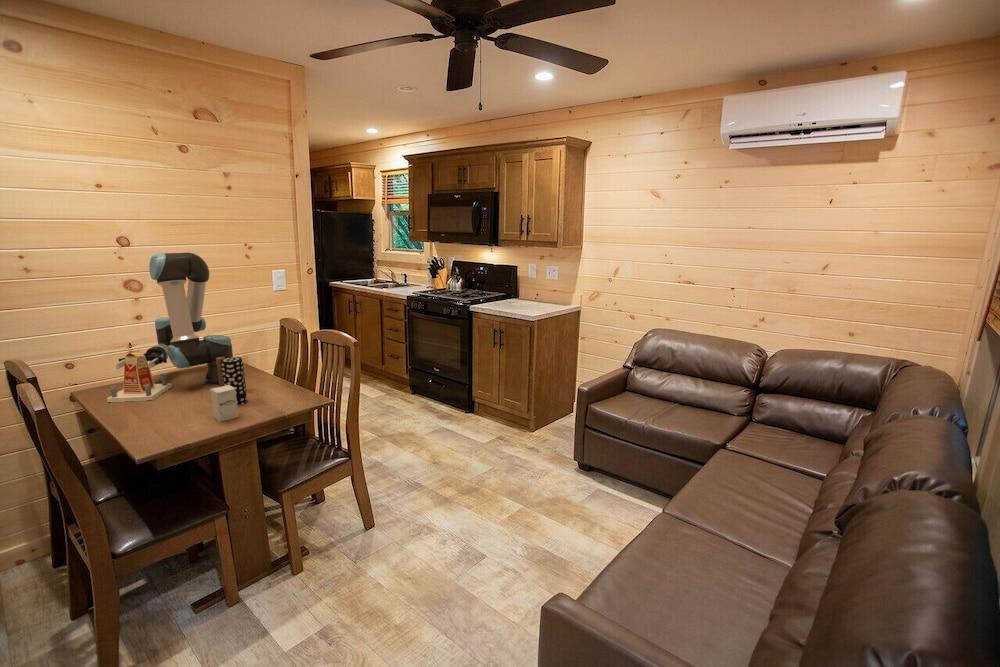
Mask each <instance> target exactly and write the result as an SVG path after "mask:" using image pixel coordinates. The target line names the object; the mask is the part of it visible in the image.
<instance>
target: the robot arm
mask: <svg viewBox="0 0 1000 667" xmlns="http://www.w3.org/2000/svg"><path fill="white" fill-rule="evenodd" d="M148 269H149V274H150V275H149V276H150V278H151V279H152V280H154V281H156V284H157V285H159V286H160V287H161V289H162V292H163V298H164V302H165V306H166V311H167V317H160V318H159V317H158V318H156V319H155V320H154V328H155V333H156V339H157V344H155V345H154V346H151V347H150V348H148V349H147V350H146V352H144V353H142V354H143V355H144V356H145V357H146V360H147V362H148V365H149V368H150V369H153V368H154V367H156V366H159V365H160V364H163V363H164V364H167V363H168V360H167V359H169V361H170V362H171V364H172V365H173V366H174V367H175V368H176V369H186V368H187V369H188V368H189V369H190V368H191V367H195V366H201V365H206V367H207V369H206V373H205V376H204V380H205V384H207V385H209V386H210V385H211V386H220V385H219V378H218V370H217V363H216V358H218V357H225V358H229V357H234V354H233V344H232V340H231V338H230V336H228V335H223V334H211V335H210V334H208V335H205V336H203V337H202V338H203V339H201V340H200V337H199V336H198V335H196V334H195V333H198V332H202V331H205V330H206V328H207V325H206V323H207V322H206V319H205V318H204V317H203V316H202V314H203V310H204V309H203V307H204V301H205V294H206V293H205V292H206V285H207V283H208V282H209V280H210V269H209V266H208V265H207V262H206V261H205V260H204V258H202V257H201V256H199V255H198V254H195V253H193V252H188V251H187V252H172V253H171V252H165V253H156V254H153V255H152V256H151V257H150V259H149V266H148ZM187 280H188V281H187ZM186 282H187V291H186V290H185V289H186V288H185V283H186ZM115 367H116V370H120V369H121V368H124V367H125V357H123V358H122V357H121V358H119V359H118V362H116V363H115Z"/></svg>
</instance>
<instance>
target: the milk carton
mask: <svg viewBox="0 0 1000 667" xmlns="http://www.w3.org/2000/svg"><path fill="white" fill-rule="evenodd" d="M143 354H144V353H142V352H141V350H140V349H136V350H129V349H128V353H127V354H126V355H125V357H124V358H125V366H124V367H123V368H124V369H123V370H124V371H123V389H124V394H144V393H146V392H145V386H144V385H145V384H150V388H151V390H152V389H154V388H155V386H154V384H155V382H154V378H153V374H152V372H151V368H149V361H147V360H146V357H145V356H144V355H143Z"/></svg>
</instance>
